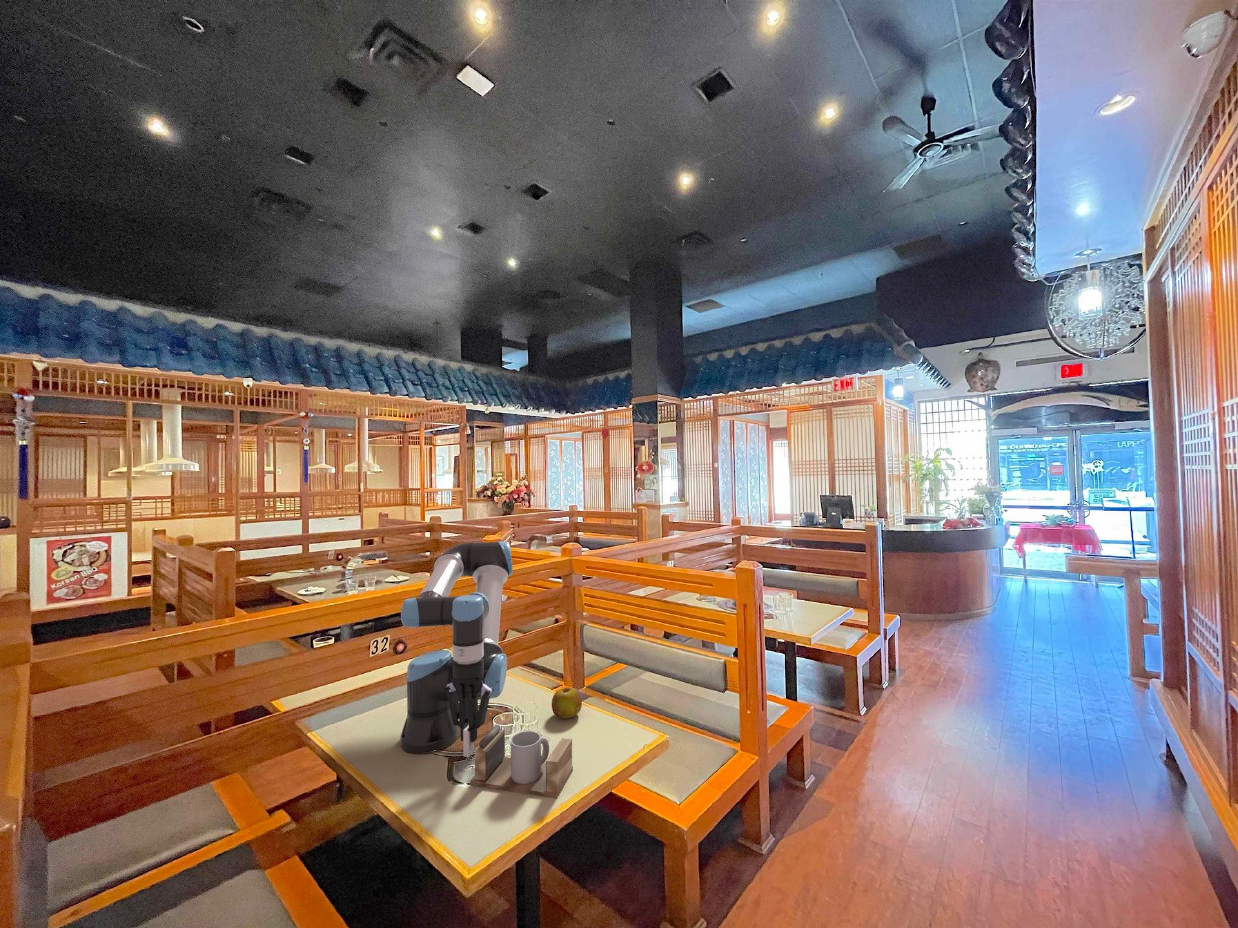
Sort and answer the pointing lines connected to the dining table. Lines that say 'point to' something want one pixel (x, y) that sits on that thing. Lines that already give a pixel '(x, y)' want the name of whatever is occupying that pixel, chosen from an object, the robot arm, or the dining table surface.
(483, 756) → the block
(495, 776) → the base
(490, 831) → the dining table surface
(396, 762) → the dining table surface
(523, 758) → the cup
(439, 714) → the robot arm
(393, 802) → the dining table surface
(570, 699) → the fruit
